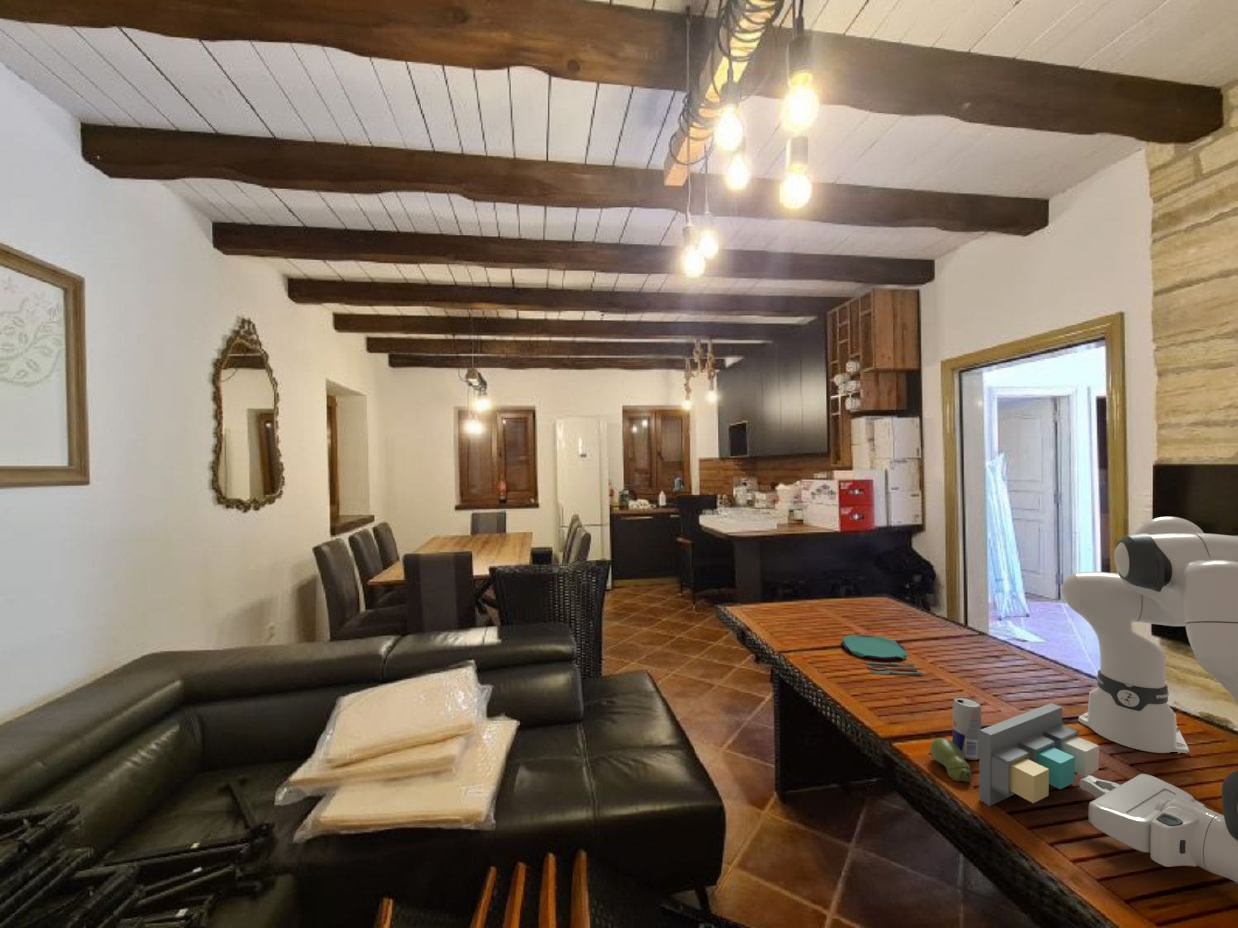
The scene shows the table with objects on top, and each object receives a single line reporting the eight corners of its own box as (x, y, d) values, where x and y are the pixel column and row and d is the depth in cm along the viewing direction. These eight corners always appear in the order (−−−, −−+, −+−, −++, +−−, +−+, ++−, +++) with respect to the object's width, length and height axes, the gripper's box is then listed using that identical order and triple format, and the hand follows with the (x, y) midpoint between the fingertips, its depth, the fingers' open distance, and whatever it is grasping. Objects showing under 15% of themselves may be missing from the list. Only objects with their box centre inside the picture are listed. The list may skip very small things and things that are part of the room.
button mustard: (1021, 781, 100) (1021, 756, 100) (1048, 795, 96) (1048, 768, 96) (1006, 788, 98) (1006, 762, 98) (1033, 803, 94) (1033, 776, 94)
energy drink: (953, 744, 121) (954, 693, 120) (981, 752, 117) (982, 700, 117) (950, 754, 116) (951, 702, 116) (979, 763, 113) (980, 709, 113)
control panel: (1050, 766, 112) (1051, 702, 112) (1078, 779, 107) (1079, 713, 107) (979, 799, 101) (979, 729, 101) (1007, 816, 97) (1008, 742, 96)
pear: (951, 732, 115) (981, 767, 105) (948, 753, 116) (978, 789, 106) (926, 732, 115) (954, 766, 106) (923, 753, 116) (950, 788, 107)
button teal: (1047, 769, 104) (1047, 744, 104) (1074, 782, 100) (1074, 756, 100) (1033, 775, 102) (1033, 750, 102) (1060, 789, 98) (1060, 763, 97)
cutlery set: (893, 641, 186) (893, 635, 185) (930, 679, 156) (930, 671, 156) (835, 639, 189) (835, 632, 189) (860, 675, 159) (860, 668, 159)
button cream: (1071, 757, 108) (1071, 734, 107) (1098, 769, 103) (1098, 745, 103) (1058, 763, 105) (1058, 739, 105) (1085, 776, 101) (1085, 751, 101)
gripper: (1216, 792, 88) (1112, 750, 101) (1160, 830, 79) (1054, 778, 92) (1215, 828, 88) (1111, 781, 101) (1159, 870, 80) (1053, 813, 92)
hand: (1083, 780), depth 96 cm, fingers closed
